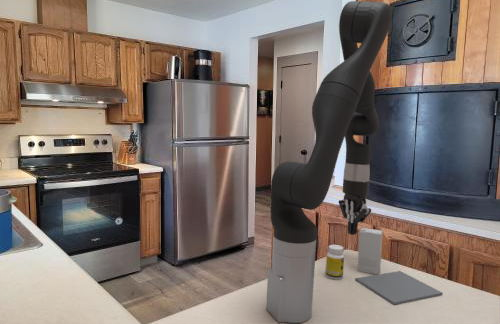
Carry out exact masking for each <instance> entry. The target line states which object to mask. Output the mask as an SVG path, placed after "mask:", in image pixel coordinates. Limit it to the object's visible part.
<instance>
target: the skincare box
mask: <svg viewBox="0 0 500 324" xmlns="http://www.w3.org/2000/svg"><path fill="white" fill-rule="evenodd" d="M383 232H384V231H383V230H379V229H375V228H374V229H372V228H367V227H361V229H360V230H359V231H358V234H359V235H358V253H357V268H356V269H357V272H362V273H367V274H371V275H378V274H381V273H380V272H381V270H382V269H381V264H382V250H383V234H384V233H383Z"/></svg>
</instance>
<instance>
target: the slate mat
mask: <svg viewBox="0 0 500 324" xmlns="http://www.w3.org/2000/svg"><path fill="white" fill-rule="evenodd" d="M354 280H355V281H356V282H357V283H359V284H360V285H361V286H363V287H365V288H366V289H368V290H370V291H371V292H373V293H374V294H375V295H378V296H379V297H380V298H382V299H384V300H385V301H387V302H388V303H390V304H391V305H392V306H397V305H402V304H406V303H410V302H411V303H412V302H416V301H420V300H421V301H422V300H425V299H430V298H435V297H438V296H440V297H441V296H443V292H442V291H440V290H438V289H436V288H434V287H432V286H430V285H428V284H426V283H425V282H422V281H420V280H419V279H416V278H415V277H412V275H409V274H407V273H405V272H403V271H401V270H398V271H392V272H385V273H379V274H378V275H376V274H371V275H366V276H361V277H355V279H354Z"/></svg>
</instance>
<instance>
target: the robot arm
mask: <svg viewBox="0 0 500 324" xmlns="http://www.w3.org/2000/svg"><path fill="white" fill-rule="evenodd" d="M392 19H393V10H392V7H391V5H390V4H388V3H385V2H381V1H367V0H366V1H365V0H364V1H362V0H360V1H359V0H355V1H353V0H352V1H348V2H346V3H345V5H344V6H343V7H342V9H341V12H340V15H339V20H338V21H339V23H338V31H339V39H340V45H341V46H340V47H341V51H342V58H343V61H342V62H341V63H340V64H339V65H337V66H336V67H334V68H333V69H332V70H330V71H329V73H328V74H327V75H325V77H324V78H323V79H322V81H321V83H320V84H319V88H318V90H317V91H316V94H315V97H314V99H313V102H312V106H311V114H312V117H311V118H312V123H313V127H314V132H315V141H314V145H313V148H312V149H313V150H312V151H311V154H310V157H309V159H308V162H307V163H302V162H297V161H283V162H281V163H280V164H278V165H277V167H276V168H275V169H274V171H273V174H272V177H271V182H270V222H271V225H272V228H273V237H272V238H273V239H272V240H273V241H272V258H271V267H269V268H268V269H267V285H266V303H265V304H266V305H265V309H266V310H267V311H268V313H270V315H271V316H272V317H273V318H274V319H275V320H276V322H278V323H289V324H298V323H304V322H306V321H308V320H310V319H311V318H312V314H313V297H314V282H315V281H314V280H315V265H316V251H317V250H316V249H317V237H318V235H317V233H318V230H317V229H318V227H317V226H316V224H315V222H313V221H312V220H311V219H310V218H309V217H308V216H307V215H306V214H305V212H304V210H303V209H305V210H311V211H312V210H316V209H318V208H319V207H320V206H321V205H322V203H323V202H324V201H325V199H326V197H327V195H328V192H329V189H330V186H331V183H332V179H333V176H334V172H335V169H336V166H337V161H338V158H339V154H340V152H341V148H342V145H343V142H344V141H345V163H344V170H343V176H342V178H343V181H342V182H343V183H342V193H343V194H344V195H343V199H340V200H338V204H339V208H340V210H341V214H342V217H343V218H344V219H346V220H347V230H346V231H347V234H349V235H351V236H353V235H356V234H357V233H358V226H359V223H363V222H364V221H365V220H366V219H367V217H368V216H369V215H370V214H371V212H372V209H371V208H370V207H369V208H368V206H367V205H366V204H367V200H366V198H367V196H368V195H369V188H370V187H369V186H370V173H371V171H370V170H371V168H370V167H371V166H370V162H371V151H372V149H371V146H370V145H368V144H366V143H361V142H359V141H357V140H356V139H355V137H354V136H358V137H359V136H360V137H361V136H362V137H364V136H365V137H373V136H375V135H376V134H377V133H378V131H379V129H380V120H379V116H378V113H377V109H376V106H375V93H376V92H375V90H376V89H375V88H376V86H375V85H376V84H375V79H374V76H373V74H372V72H371V69H372V67H373V64H374V63H375V60H376V58H377V56H378V55H379V52H380V50H381V48H382V46H383V44H384V42H385V40H386V38H387V36H388V33H389V31H390V28H391V24H392ZM358 44H360V45H359V46H358ZM344 139H345V140H344Z"/></svg>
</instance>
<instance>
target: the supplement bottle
mask: <svg viewBox="0 0 500 324" xmlns="http://www.w3.org/2000/svg"><path fill="white" fill-rule="evenodd" d="M325 260H326V262H325V263H326V264H325V277H326V278H328V279H331V280H342V279H343V276H344V268H345V267H344V265H345V264H344V263H345V255H344V246H342V245H339V244H330V245H328V250H327V253H326V259H325Z"/></svg>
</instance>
